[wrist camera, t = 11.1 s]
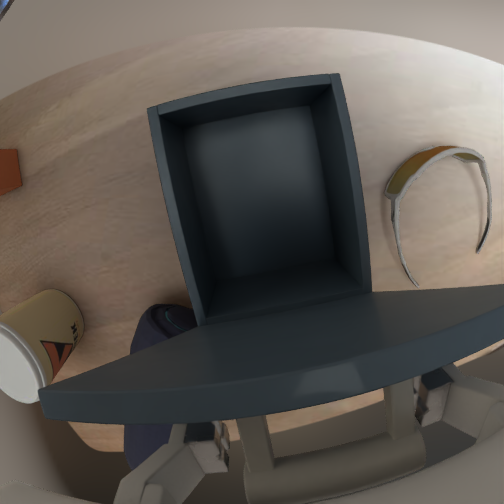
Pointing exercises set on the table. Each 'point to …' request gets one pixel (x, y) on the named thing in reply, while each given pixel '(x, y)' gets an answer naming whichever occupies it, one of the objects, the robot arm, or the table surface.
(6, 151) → the block
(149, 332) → the portable speaker
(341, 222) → the open box
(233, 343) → the lid
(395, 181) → the sunglasses
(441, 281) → the table surface
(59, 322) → the coffee cup
